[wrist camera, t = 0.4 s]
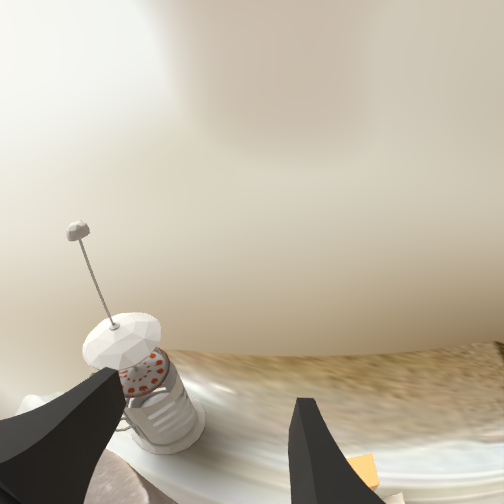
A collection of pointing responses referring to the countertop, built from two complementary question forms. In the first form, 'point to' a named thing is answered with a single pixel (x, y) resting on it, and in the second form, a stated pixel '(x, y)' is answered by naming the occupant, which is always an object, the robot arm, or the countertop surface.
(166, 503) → the pillar candle
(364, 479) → the lid
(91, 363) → the french press
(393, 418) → the countertop surface
